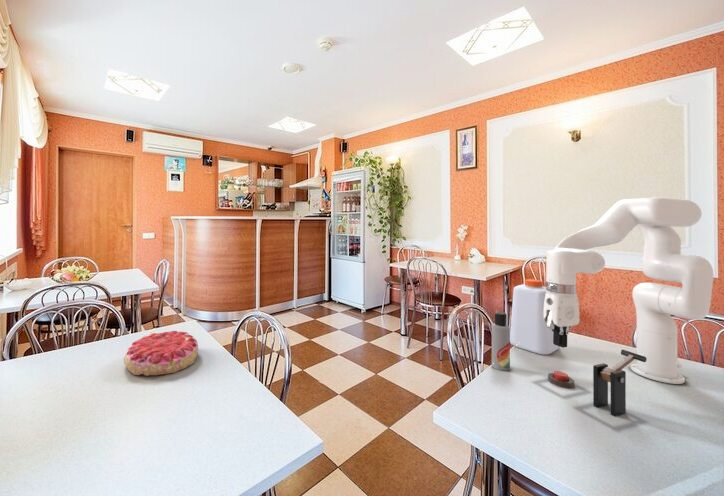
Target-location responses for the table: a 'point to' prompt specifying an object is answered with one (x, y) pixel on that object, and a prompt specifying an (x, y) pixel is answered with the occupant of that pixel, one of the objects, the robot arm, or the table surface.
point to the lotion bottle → (501, 342)
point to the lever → (621, 364)
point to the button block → (561, 383)
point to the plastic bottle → (530, 319)
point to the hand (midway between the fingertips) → (560, 345)
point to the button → (560, 376)
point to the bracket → (616, 390)
